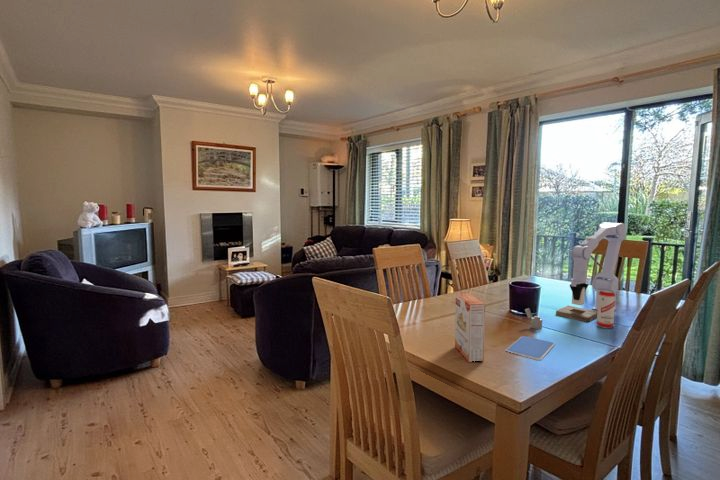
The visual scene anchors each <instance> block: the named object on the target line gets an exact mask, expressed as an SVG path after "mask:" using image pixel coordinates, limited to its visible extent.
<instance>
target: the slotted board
mask: <svg viewBox="0 0 720 480" xmlns="http://www.w3.org/2000/svg"><path fill="white" fill-rule="evenodd" d="M555 315H556V316H560V317H563V318H564V317H565V318H569V319H573V320H578V321H581V322H582V321H583V322H587V323H589V322H591V321H592V320H594V319H595V318H596V319H597V310H594V309H588V308H583V307H578V306H573V305H566V306H564V307H561V308H559V309H557V310H556V311H555Z"/></svg>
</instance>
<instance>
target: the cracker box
mask: <svg viewBox="0 0 720 480" xmlns="http://www.w3.org/2000/svg"><path fill="white" fill-rule="evenodd" d="M454 317H455V321H454V322H455V326H454V327H455V328H454V347H455V348H456V350H457V351H458V350H459V351H460V352H459V351H458V352H459V353H460V354H461V356H462V357H463V356H464V357H465V358H466V359H465V358H464V357H463V358H464V359H465V360H466V361H467V362H468V363H476V362H475V361H484V360H485V359H484V357H485V356H484V355H485V327H486V326H485V325H486V323H485V322H486V321H485V320H486V319H485V318H486V304H485V303H483V302H482V301H481V300H479V299H478V298H477V297H475V296H474V295H472V294H471V293H456V294H455V316H454ZM472 361H474V362H472Z"/></svg>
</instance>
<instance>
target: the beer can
mask: <svg viewBox="0 0 720 480" xmlns="http://www.w3.org/2000/svg"><path fill="white" fill-rule="evenodd" d="M615 306H616V293H614V291H612V290H600V292H599V295H598V308H597V310H596V311H597V317H596V325H597V326H598V327H600V328H601V329H611V328H613V327H614V324H615V323H614V321H615V311H616V309H615V308H616V307H615Z"/></svg>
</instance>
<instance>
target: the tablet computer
mask: <svg viewBox="0 0 720 480" xmlns="http://www.w3.org/2000/svg"><path fill="white" fill-rule="evenodd" d="M555 346H556V343H555V342H553V341H548V340H545V339H538V338H535V337H531V336H530V337H529V336H527V335H526V336H525V335H521V336H520V337H519V338H518V339H517V340H515V341H514V342H513V343H512V344H511V345H509V347H507V348H506V349H505V352H506V351H508V352H507V353H509V352H511V353H510V354H512V353H515V354H514V355H516V354H518V355H517V356H520V355H521V357H525V358H528V359H533V360H536V361H542V360H543V359H544V358H545V357H546V355H547V354H548V353H549V352H550V351H551V350H552V349H553V348H554V347H555Z"/></svg>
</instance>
